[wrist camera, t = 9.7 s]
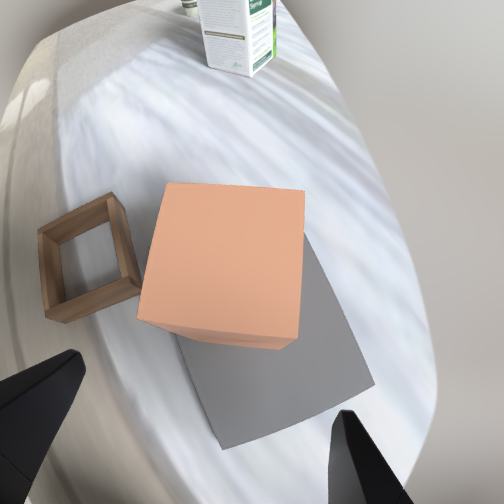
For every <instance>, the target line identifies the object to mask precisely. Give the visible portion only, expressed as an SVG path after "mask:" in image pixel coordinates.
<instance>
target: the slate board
mask: <svg viewBox="0 0 504 504" xmlns="http://www.w3.org/2000/svg"><path fill="white" fill-rule="evenodd" d="M150 247H151V246H150ZM150 247H149V250H150ZM175 335H176V338H177V341H178V343H179V346H180V349H181V352H182V355H183V357H184V360H185V363H186V365H187V368H188V371H189V373H190V376H191V378H192V381H193V383H194V386H195V388H196V391H197V393H198V396H199V398H200V401H201V403H202V405H203V408H204V410H205V412H206V415H207V417H208V419H209V422H210V424H211V426H212V428H213V431H214V433H215V435H216V437H217V439H218V442H219V444H220V446H221V448H222V450H225V449H228V448H231V447H235V446H238V445H241V444H244V443H247V442H250V441H253V440H256V439H258V438H261V437H264V436H267V435H269V434H272V433H275V432H277V431H280V430H282V429H285V428H287V427H290V426H292V425H295V424H297V423H299V422H302V421H304V420H306V419H309V418H311V417H313V416H315V415H317V414H320V413H322V412H324V411H326V410H328V409H330V408H332V407H334V406H336V405H338V404H340V403H342V402H344V401H346V400H348V399H350V398H352V397H354V396H356V395H358V394H360V393H361V392H363V391H365V390H367V389H369V388H370V387H372V386H374V385H375V383H374V381H373V378H372V376H371V373H370V371H369V369H368V366H367V364H366V362H365V359H364V357H363V355H362V353H361V350H360V348H359V346H358V343H357V341H356V339H355V337H354V335H353V332H352V330H351V328H350V326H349V323H348V321H347V319H346V317H345V315H344V313H343V310H342V308H341V306H340V304H339V302H338V300H337V298H336V296H335V293H334V291H333V289H332V287H331V285H330V283H329V281H328V279H327V277H326V275H325V273H324V271H323V269H322V267H321V265H320V263H319V261H318V259H317V257H316V255H315V253H314V251H313V249H312V247H311V245H310V243H309V241H308V239H307V237H306V235H305V233H304V241H303V264H302V283H301V299H300V314H299V328H298V338H297V339H296V340H294V341H293V342H291V343H290V344H288V345H286V346H285V347H283V348H282V349H280V350H276V349H264V348H253V347H243V346H234V345H225V344H217V343H209V342H202V341H195V340H193V339H190V338H187V337H184V336H181V335H178V334H175Z"/></svg>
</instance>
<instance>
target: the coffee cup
mask: <svg viewBox="0 0 504 504" xmlns="http://www.w3.org/2000/svg"><path fill="white" fill-rule="evenodd" d="M181 1H182V4H183V7H184V9H185V12H186V14H187V16H188V17H194V16H198V15H199V14H198V8H197V2H196V0H181Z"/></svg>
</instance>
